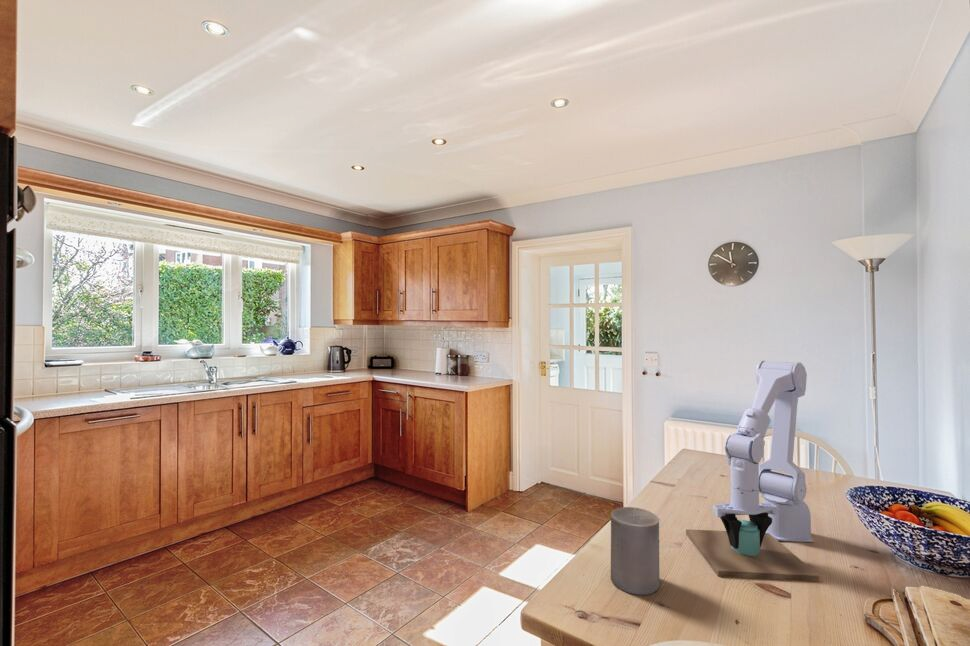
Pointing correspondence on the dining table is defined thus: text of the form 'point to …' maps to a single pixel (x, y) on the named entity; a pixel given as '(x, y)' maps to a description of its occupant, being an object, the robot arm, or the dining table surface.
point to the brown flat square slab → (750, 558)
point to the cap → (748, 539)
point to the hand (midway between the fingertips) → (745, 546)
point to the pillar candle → (635, 550)
